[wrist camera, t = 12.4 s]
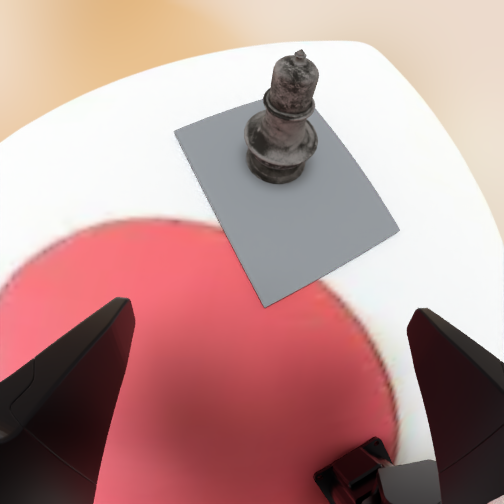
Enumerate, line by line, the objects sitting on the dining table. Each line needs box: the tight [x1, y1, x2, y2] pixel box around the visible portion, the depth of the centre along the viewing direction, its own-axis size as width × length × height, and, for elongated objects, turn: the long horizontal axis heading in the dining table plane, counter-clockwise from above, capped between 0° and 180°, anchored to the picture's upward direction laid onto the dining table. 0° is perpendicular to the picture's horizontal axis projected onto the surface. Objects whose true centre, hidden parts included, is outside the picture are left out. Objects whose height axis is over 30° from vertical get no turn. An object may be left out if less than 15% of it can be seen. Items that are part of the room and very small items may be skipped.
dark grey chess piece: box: [244, 49, 319, 184], centre depth 19 cm, size 6×6×12 cm
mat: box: [174, 99, 400, 308], centre depth 24 cm, size 18×14×1 cm
